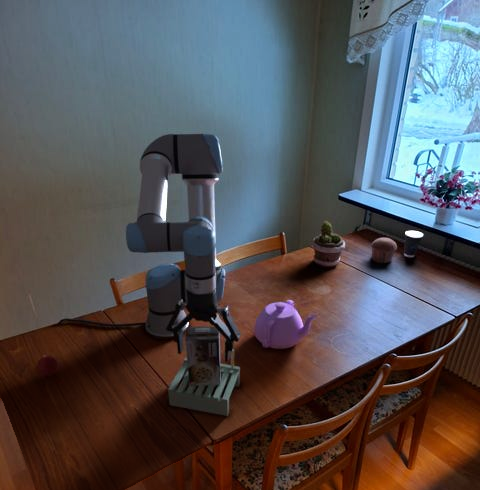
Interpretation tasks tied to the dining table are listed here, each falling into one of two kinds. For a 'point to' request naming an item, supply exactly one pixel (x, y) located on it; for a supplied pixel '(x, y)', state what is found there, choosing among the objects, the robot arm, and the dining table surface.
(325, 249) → the flowerpot
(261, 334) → the teapot
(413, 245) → the dixie cup
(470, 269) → the dining table surface
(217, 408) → the rack
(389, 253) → the muffin
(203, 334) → the coffee box
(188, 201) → the robot arm
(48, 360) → the onion
